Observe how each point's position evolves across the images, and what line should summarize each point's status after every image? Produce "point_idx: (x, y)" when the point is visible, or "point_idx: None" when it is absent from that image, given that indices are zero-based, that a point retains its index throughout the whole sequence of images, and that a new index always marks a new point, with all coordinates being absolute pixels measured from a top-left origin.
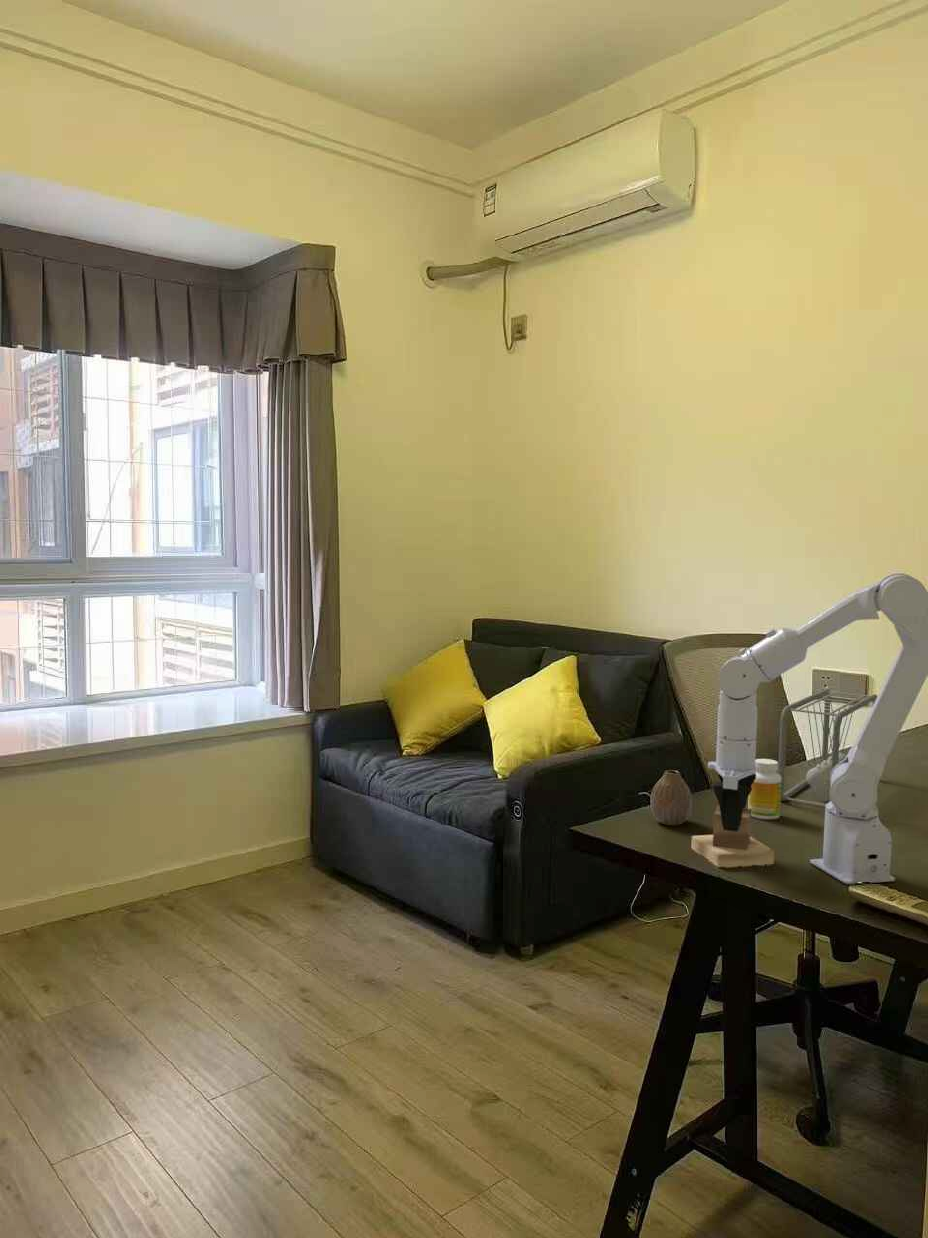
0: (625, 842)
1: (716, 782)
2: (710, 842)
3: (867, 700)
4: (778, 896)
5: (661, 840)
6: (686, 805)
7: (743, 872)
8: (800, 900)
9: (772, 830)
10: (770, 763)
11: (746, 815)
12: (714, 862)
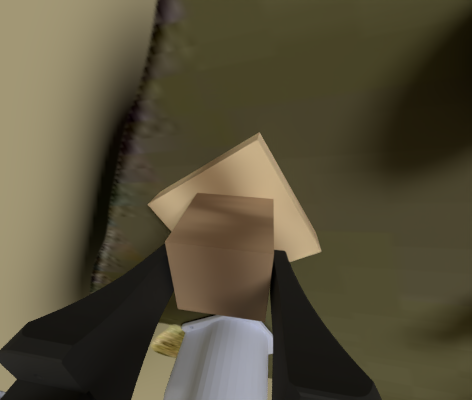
0: None
1: (48, 368)
2: (220, 187)
3: None
4: (99, 262)
5: (306, 33)
6: None
7: (162, 228)
8: (104, 280)
9: (438, 282)
10: None
11: (196, 307)
12: (167, 188)
